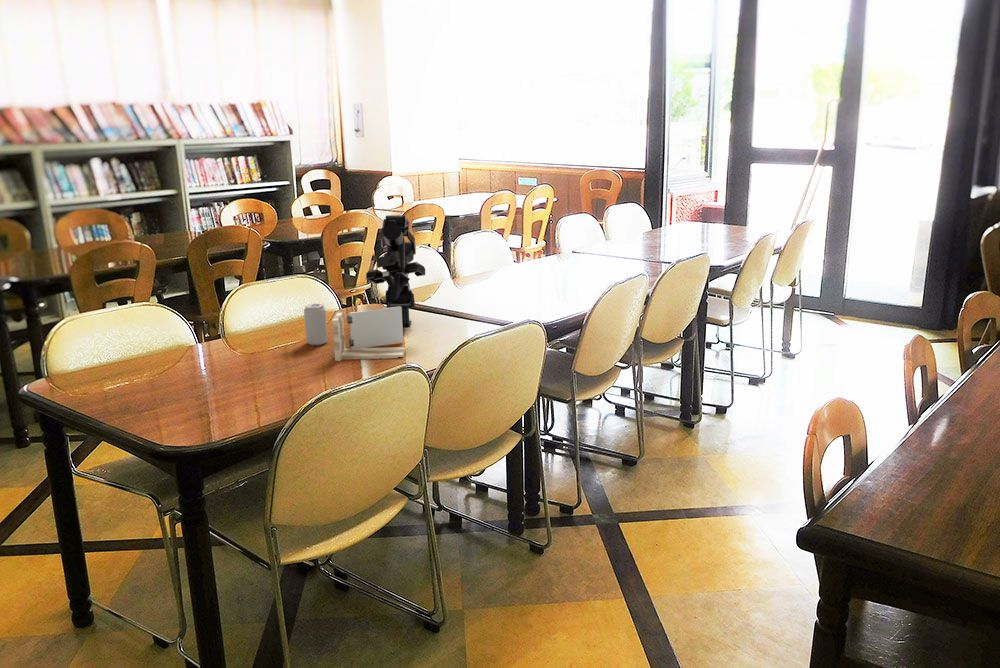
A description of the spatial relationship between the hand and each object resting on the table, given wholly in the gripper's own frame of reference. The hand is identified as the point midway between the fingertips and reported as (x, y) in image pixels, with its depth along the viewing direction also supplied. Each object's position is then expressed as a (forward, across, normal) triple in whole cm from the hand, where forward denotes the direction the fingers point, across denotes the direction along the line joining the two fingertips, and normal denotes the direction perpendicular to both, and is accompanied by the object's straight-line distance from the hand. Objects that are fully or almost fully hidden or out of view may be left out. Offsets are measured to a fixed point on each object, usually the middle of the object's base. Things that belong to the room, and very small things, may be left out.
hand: (395, 298), depth 251 cm
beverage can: (+14, -22, -10) cm, 28 cm away
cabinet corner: (+21, 0, -13) cm, 25 cm away
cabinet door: (+16, -3, -7) cm, 18 cm away
